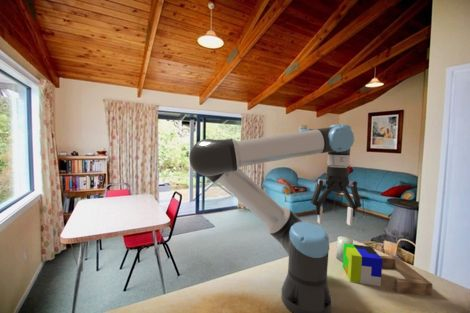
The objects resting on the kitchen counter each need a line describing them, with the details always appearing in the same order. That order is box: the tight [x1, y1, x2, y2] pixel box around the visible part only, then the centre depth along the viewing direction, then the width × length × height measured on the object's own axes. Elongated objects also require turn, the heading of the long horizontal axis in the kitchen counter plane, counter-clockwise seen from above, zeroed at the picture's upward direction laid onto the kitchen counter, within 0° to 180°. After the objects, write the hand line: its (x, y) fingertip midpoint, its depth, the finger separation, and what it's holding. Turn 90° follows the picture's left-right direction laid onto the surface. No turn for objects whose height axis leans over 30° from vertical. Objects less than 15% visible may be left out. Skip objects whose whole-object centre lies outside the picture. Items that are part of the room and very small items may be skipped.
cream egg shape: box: [336, 235, 354, 263], centre depth 96 cm, size 6×6×9 cm
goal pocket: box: [379, 255, 433, 296], centre depth 83 cm, size 11×18×4 cm, turn 177°
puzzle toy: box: [342, 243, 383, 287], centre depth 84 cm, size 10×10×10 cm
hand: (334, 223), depth 84 cm, fingers open, 10 cm apart
